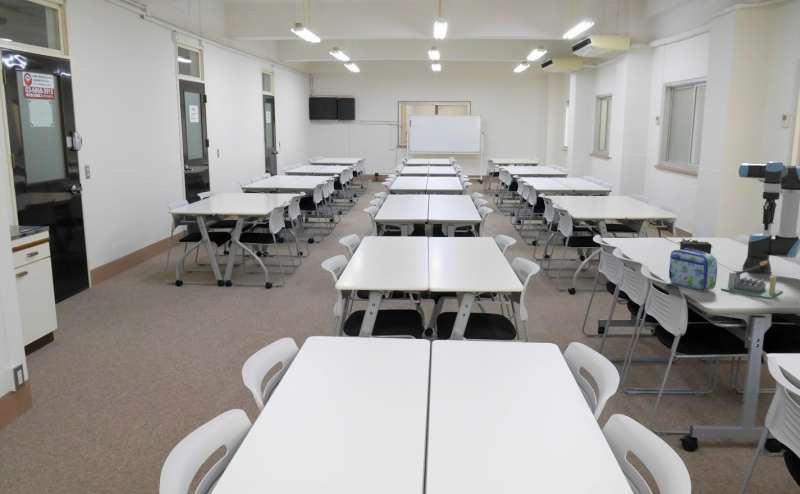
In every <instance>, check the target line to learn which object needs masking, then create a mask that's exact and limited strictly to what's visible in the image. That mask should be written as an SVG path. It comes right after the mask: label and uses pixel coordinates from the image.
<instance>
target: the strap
mask: <svg viewBox="0 0 800 494" xmlns="http://www.w3.org/2000/svg"><path fill="white" fill-rule="evenodd" d="M765 265H768V261H767V260H766V261H763V262H761V263H760V265H758V266H755V267H753V268H750V269H747V270H742V271H741V270H740V271H741V272H738V273H737V274H736V275H739V274H741V275H742V274H744V273H747V272H748V271H751V270H753V269H756V268H759V267H762V266H765Z"/></svg>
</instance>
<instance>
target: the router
mask: <svg viewBox="0 0 800 494" xmlns="http://www.w3.org/2000/svg"><path fill="white" fill-rule="evenodd" d="M680 242H681V243H679V244H680V247H679V250H682V249H684V248H689V249H690V250H696V251H700V252H705V253H708V254H711V255H712V248H713V245H712V244H711V243H710V242H709V241H699V240H697V239H694V240H693V239H691V240H690V241H682V240H681V241H680Z"/></svg>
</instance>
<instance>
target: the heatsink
mask: <svg viewBox="0 0 800 494" xmlns="http://www.w3.org/2000/svg"><path fill="white" fill-rule="evenodd" d="M764 281H765V279H761V280H760V279H759V278H755V279H753V277H750V278H748V277H747V276H744V277H742V278H740V279H739V282H738V283H737V286H736V289H738V290H744V291H749V292H755V293H760V292H762V291H764V290H765V288H767V287H766V285H767V283H765V282H764Z"/></svg>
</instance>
